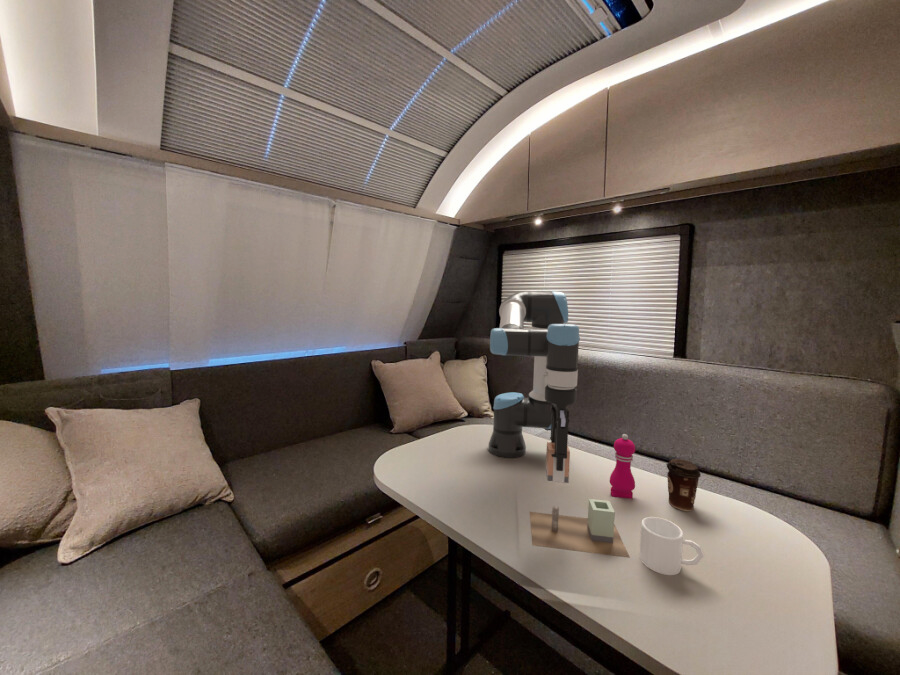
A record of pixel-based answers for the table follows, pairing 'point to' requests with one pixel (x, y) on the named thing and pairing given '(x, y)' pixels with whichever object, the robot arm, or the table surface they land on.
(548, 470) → the terracotta sleeve
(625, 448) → the pepper mill
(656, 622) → the table surface
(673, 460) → the coffee cup
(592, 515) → the sage sleeve
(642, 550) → the mug
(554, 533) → the pin board
